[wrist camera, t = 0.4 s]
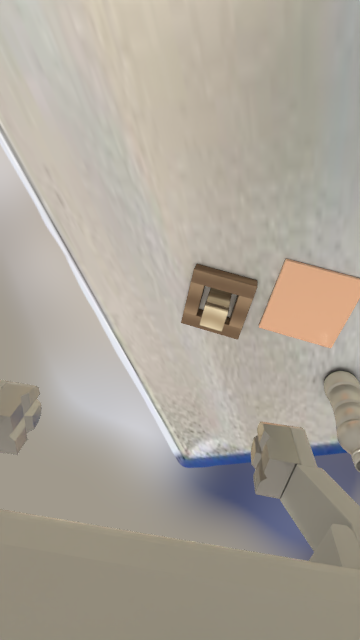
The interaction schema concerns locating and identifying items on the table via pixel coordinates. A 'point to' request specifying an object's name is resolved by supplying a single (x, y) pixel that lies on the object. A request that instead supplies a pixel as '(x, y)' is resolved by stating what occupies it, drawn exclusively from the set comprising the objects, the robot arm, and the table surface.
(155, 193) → the table surface
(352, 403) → the plastic bottle
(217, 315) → the block
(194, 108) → the table surface
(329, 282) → the terracotta tile
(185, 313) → the walnut collar holder
